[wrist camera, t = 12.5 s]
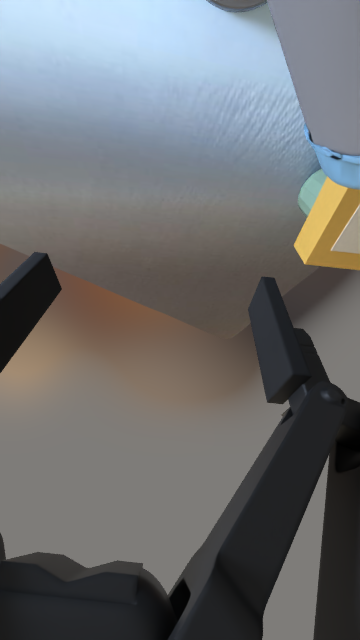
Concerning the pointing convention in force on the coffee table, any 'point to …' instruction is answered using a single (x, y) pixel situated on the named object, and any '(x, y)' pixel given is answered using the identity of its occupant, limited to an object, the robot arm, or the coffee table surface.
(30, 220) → the coffee table surface
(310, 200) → the cup
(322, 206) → the tea packet
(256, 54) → the coffee table surface
